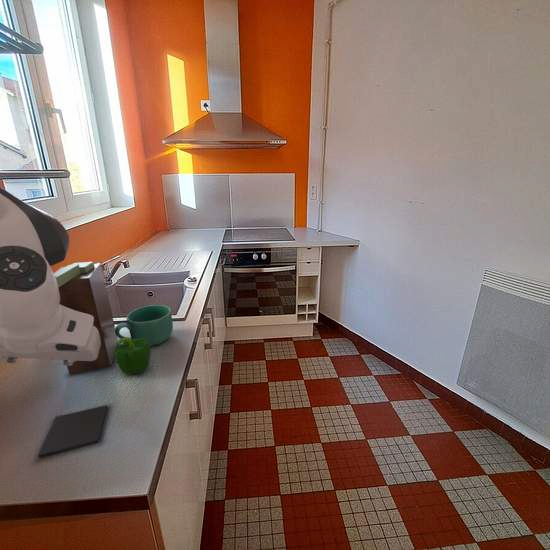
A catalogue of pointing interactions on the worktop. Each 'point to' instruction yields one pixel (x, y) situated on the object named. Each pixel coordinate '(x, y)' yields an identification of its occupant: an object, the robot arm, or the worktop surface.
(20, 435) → the worktop surface
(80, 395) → the worktop surface
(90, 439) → the mat
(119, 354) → the bell pepper
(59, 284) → the hammer
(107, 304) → the stand
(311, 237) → the worktop surface
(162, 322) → the mug
